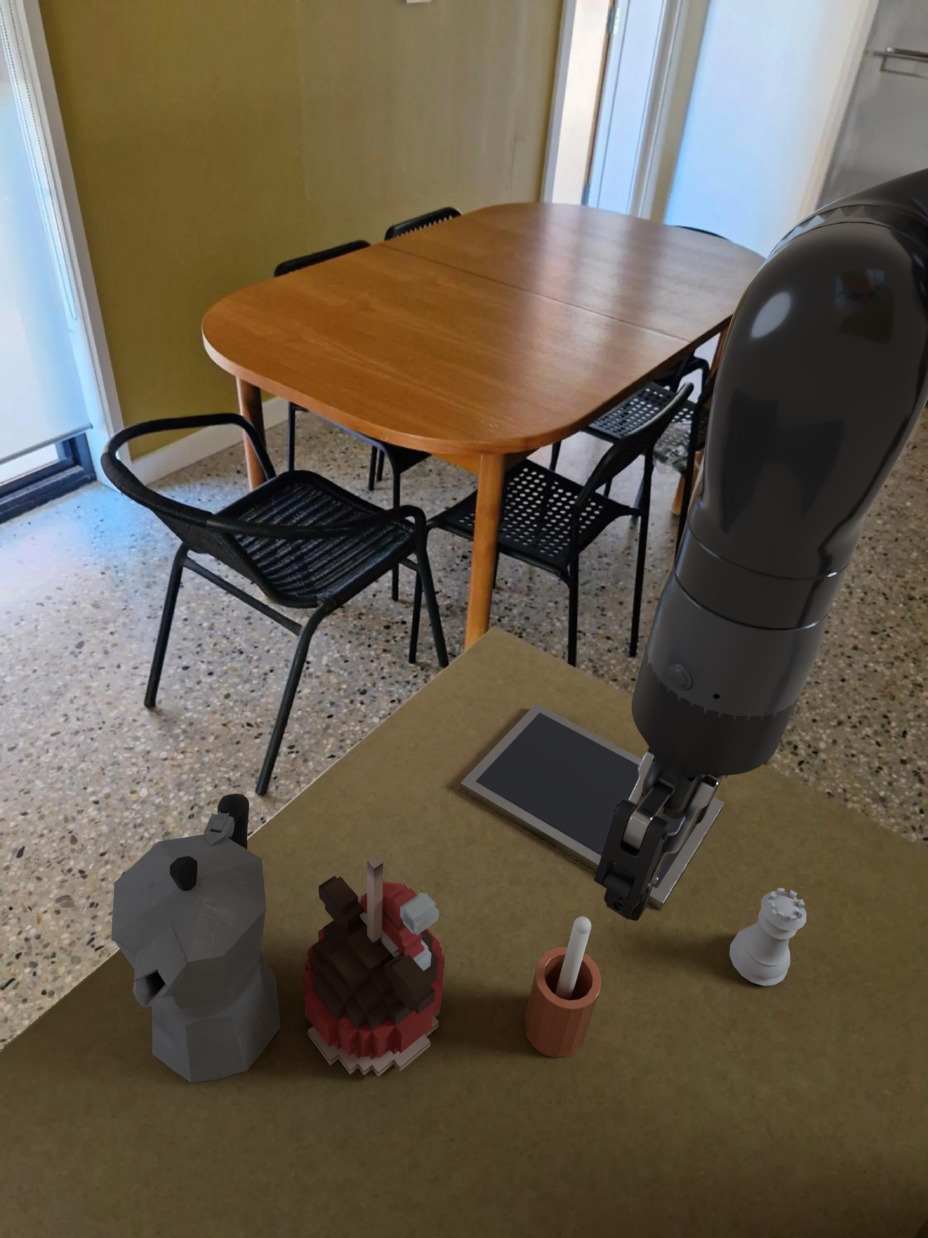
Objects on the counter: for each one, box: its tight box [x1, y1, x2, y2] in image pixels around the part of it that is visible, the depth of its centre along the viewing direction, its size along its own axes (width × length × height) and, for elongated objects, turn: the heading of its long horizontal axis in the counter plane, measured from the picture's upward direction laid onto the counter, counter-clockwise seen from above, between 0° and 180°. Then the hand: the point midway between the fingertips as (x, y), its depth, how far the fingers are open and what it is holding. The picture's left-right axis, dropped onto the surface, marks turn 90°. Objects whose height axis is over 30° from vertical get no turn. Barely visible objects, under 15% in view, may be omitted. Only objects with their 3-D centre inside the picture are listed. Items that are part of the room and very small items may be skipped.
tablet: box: [459, 703, 725, 910], centre depth 80 cm, size 20×13×1 cm, turn 55°
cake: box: [301, 854, 446, 1078], centre depth 58 cm, size 11×9×18 cm
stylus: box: [555, 916, 592, 1001], centre depth 59 cm, size 1×1×13 cm
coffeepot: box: [110, 793, 282, 1084], centre depth 58 cm, size 15×9×18 cm, turn 172°
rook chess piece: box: [729, 887, 807, 987], centre depth 66 cm, size 4×4×8 cm
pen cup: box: [523, 945, 602, 1059], centre depth 62 cm, size 4×4×7 cm
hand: (655, 858), depth 53 cm, fingers open, 8 cm apart
